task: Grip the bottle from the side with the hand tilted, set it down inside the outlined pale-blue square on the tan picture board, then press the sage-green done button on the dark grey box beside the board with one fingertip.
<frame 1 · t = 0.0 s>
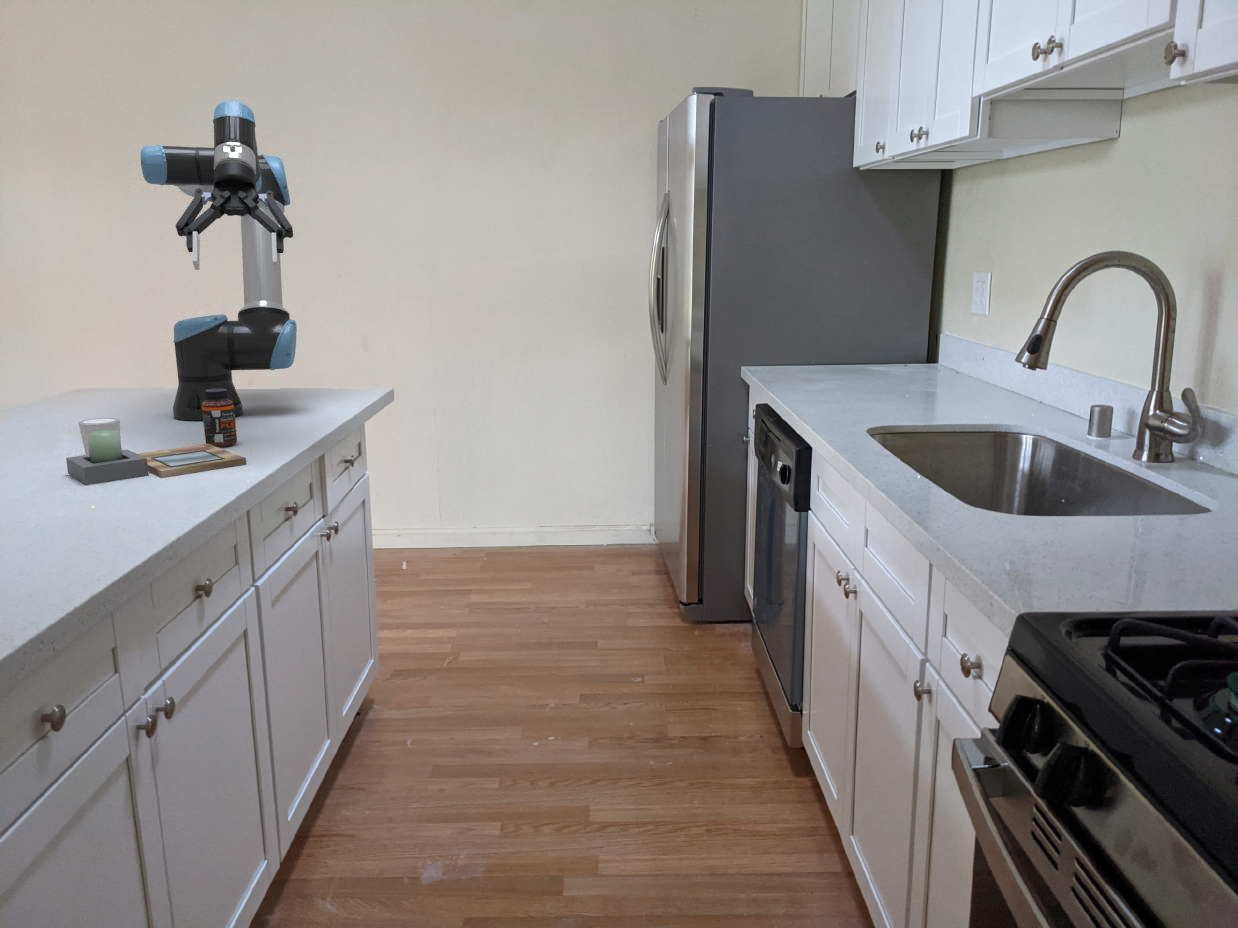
hand: (236, 266, 170), 36 cm above the countertop, tool tilted 35°, fingers open, 13 cm apart
board: (187, 462, 172), on the countertop
supplement bottle: (222, 445, 187), on the countertop
done button: (105, 447, 161), point 5 cm above the countertop, slide at 0.0 cm
button housing: (108, 474, 163), on the countertop
shot glass: (103, 457, 176), on the countertop
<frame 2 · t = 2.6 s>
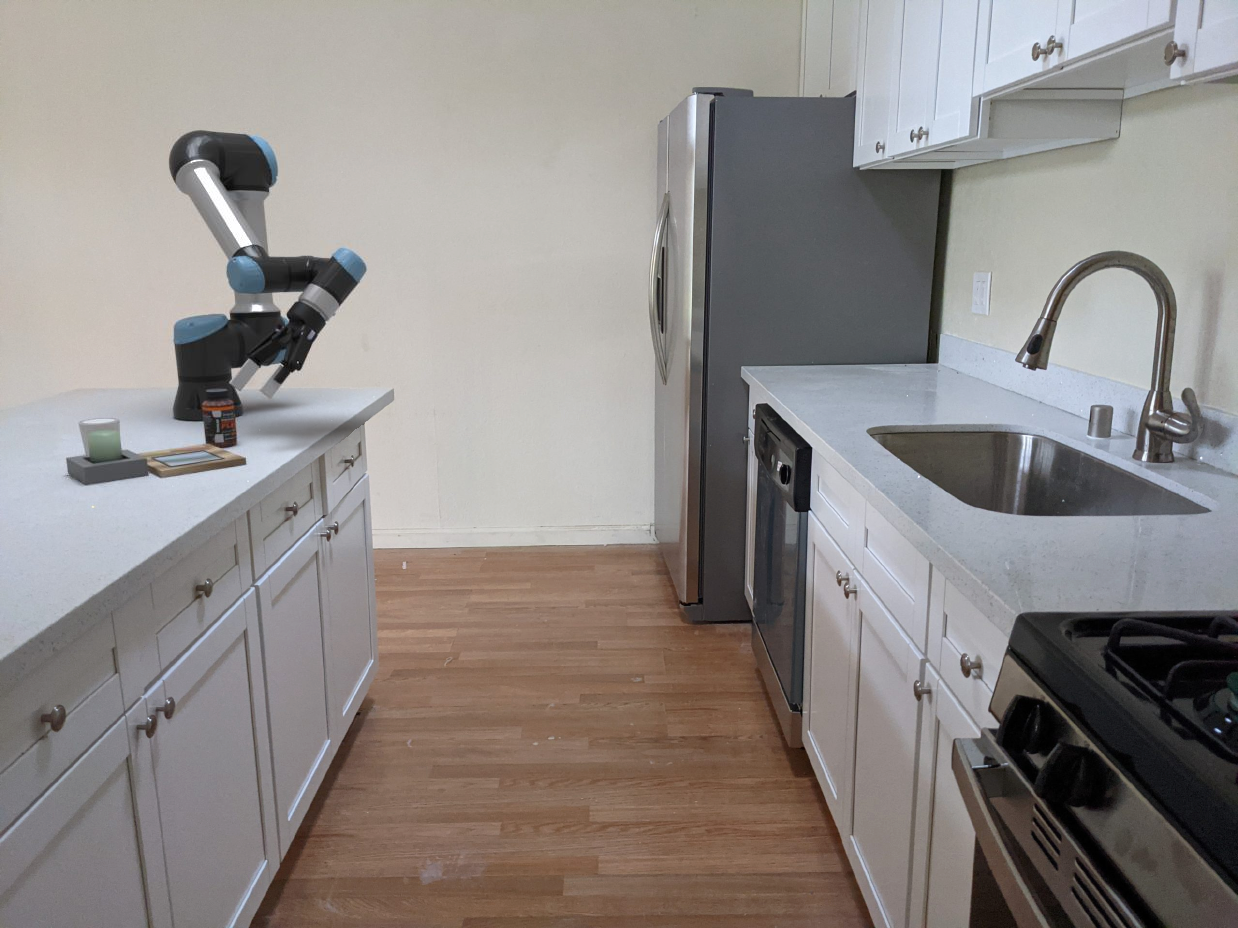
hand: (249, 390, 187), 11 cm above the countertop, tool tilted 45°, fingers open, 13 cm apart
nothing on the countertop moved.
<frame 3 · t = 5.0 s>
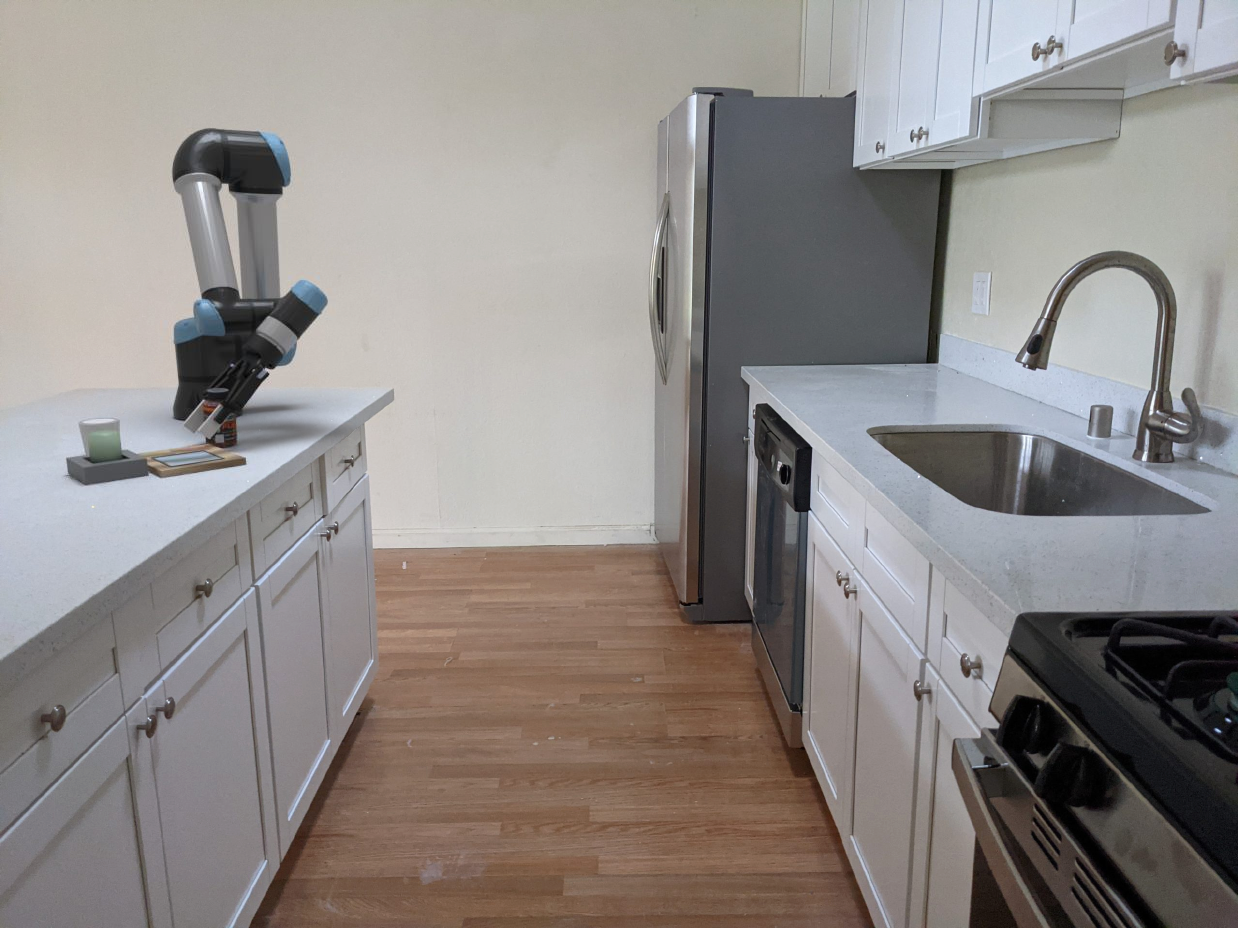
hand: (195, 431, 182), 4 cm above the countertop, tool tilted 45°, fingers open, 7 cm apart
supplement bottle: (222, 445, 187), on the countertop, touching gripper
everything else where it was.
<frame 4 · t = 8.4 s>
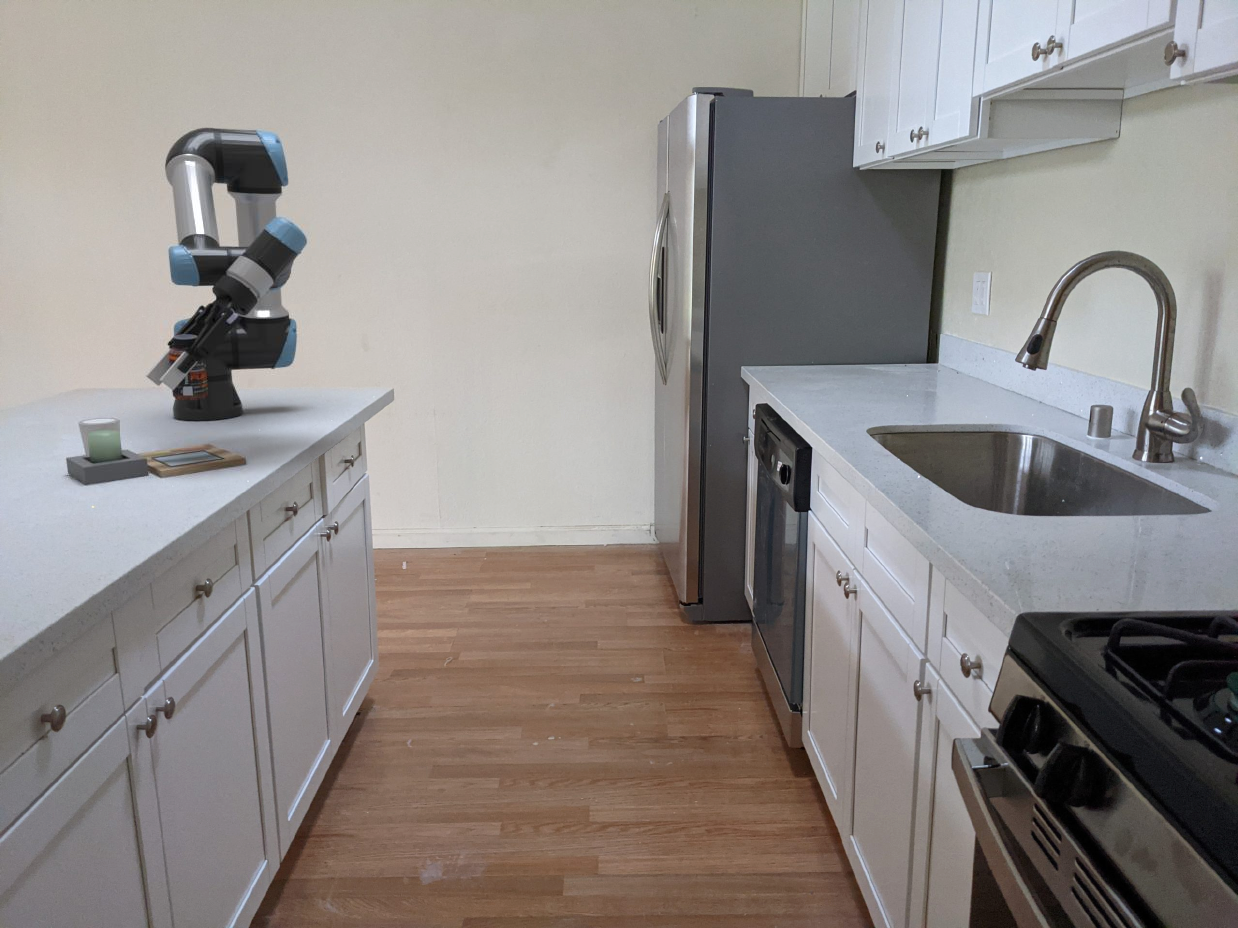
hand: (159, 382, 164), 16 cm above the countertop, tool tilted 45°, fingers closed on supplement bottle, 6 cm apart
supplement bottle: (191, 398, 169), point 12 cm above the countertop, touching gripper
everything else where it was.
when the fingers open (6 cm above the countertop, at t = 10.8 s): supplement bottle drops 1 cm, resting on board.
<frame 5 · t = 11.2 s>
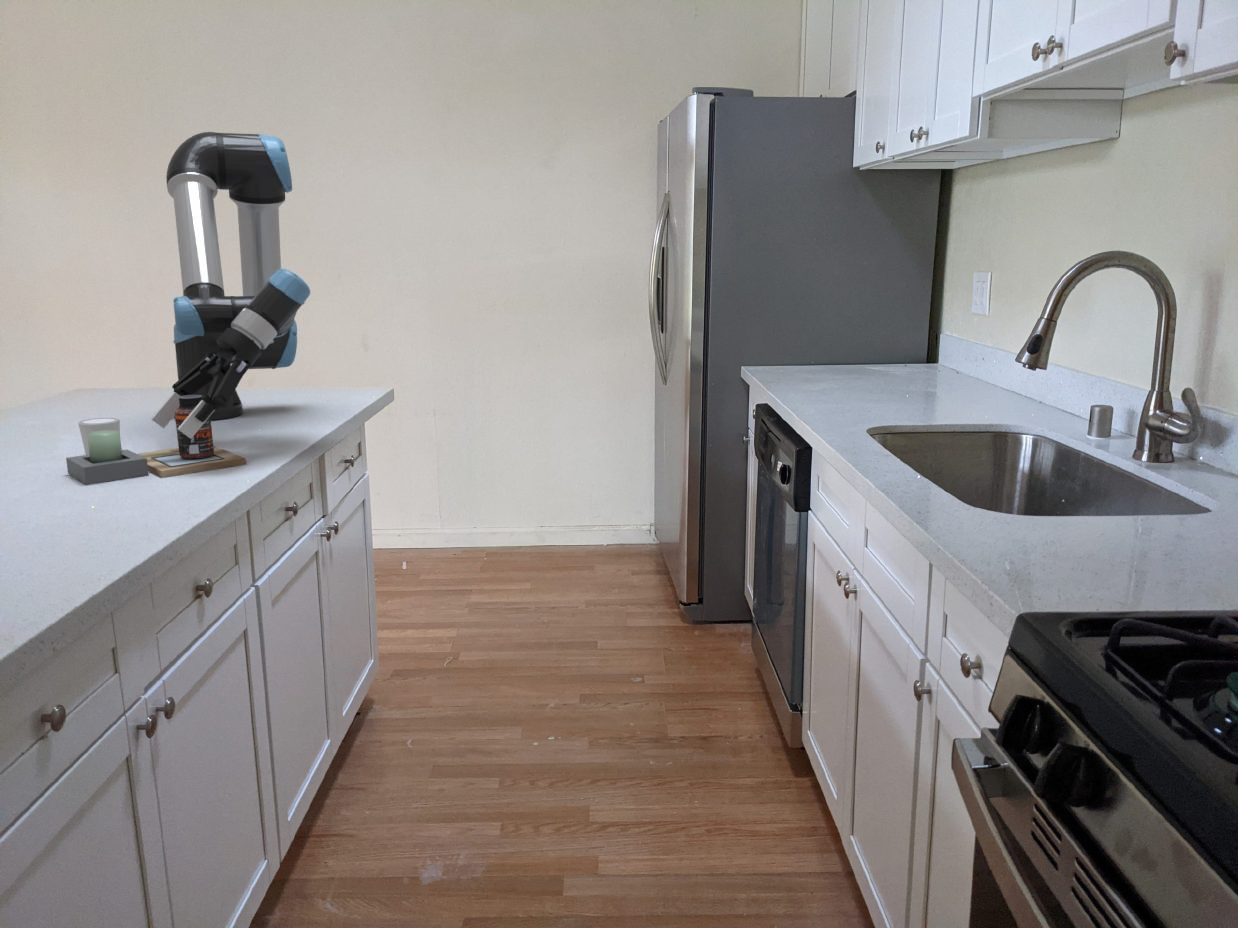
hand: (170, 428, 167), 7 cm above the countertop, tool tilted 45°, fingers open, 12 cm apart
supplement bottle: (197, 457, 172), point 1 cm above the countertop, touching board
everything else where it was.
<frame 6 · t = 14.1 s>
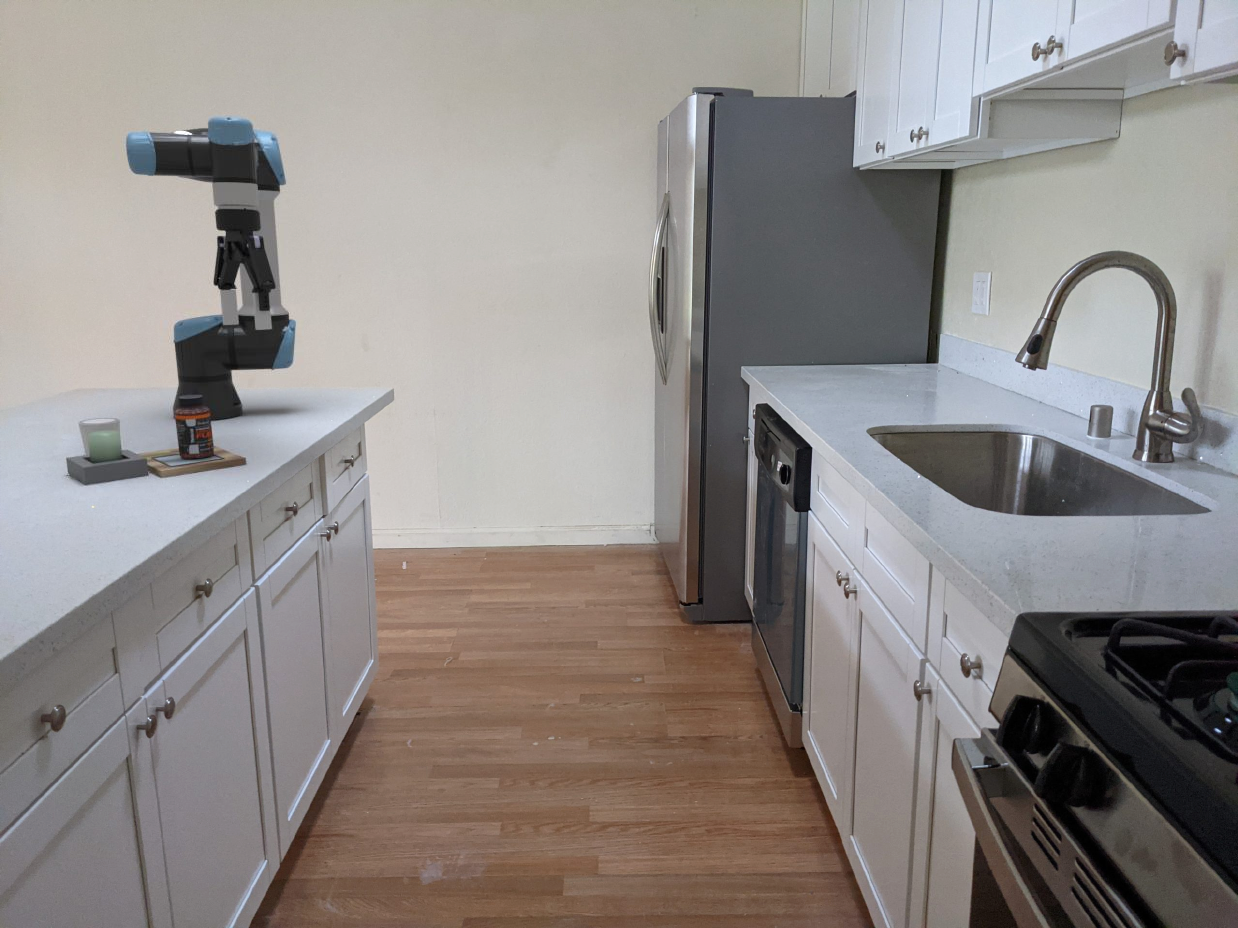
hand: (246, 327, 171), 25 cm above the countertop, tool pointing down, fingers open, 13 cm apart
nothing on the countertop moved.
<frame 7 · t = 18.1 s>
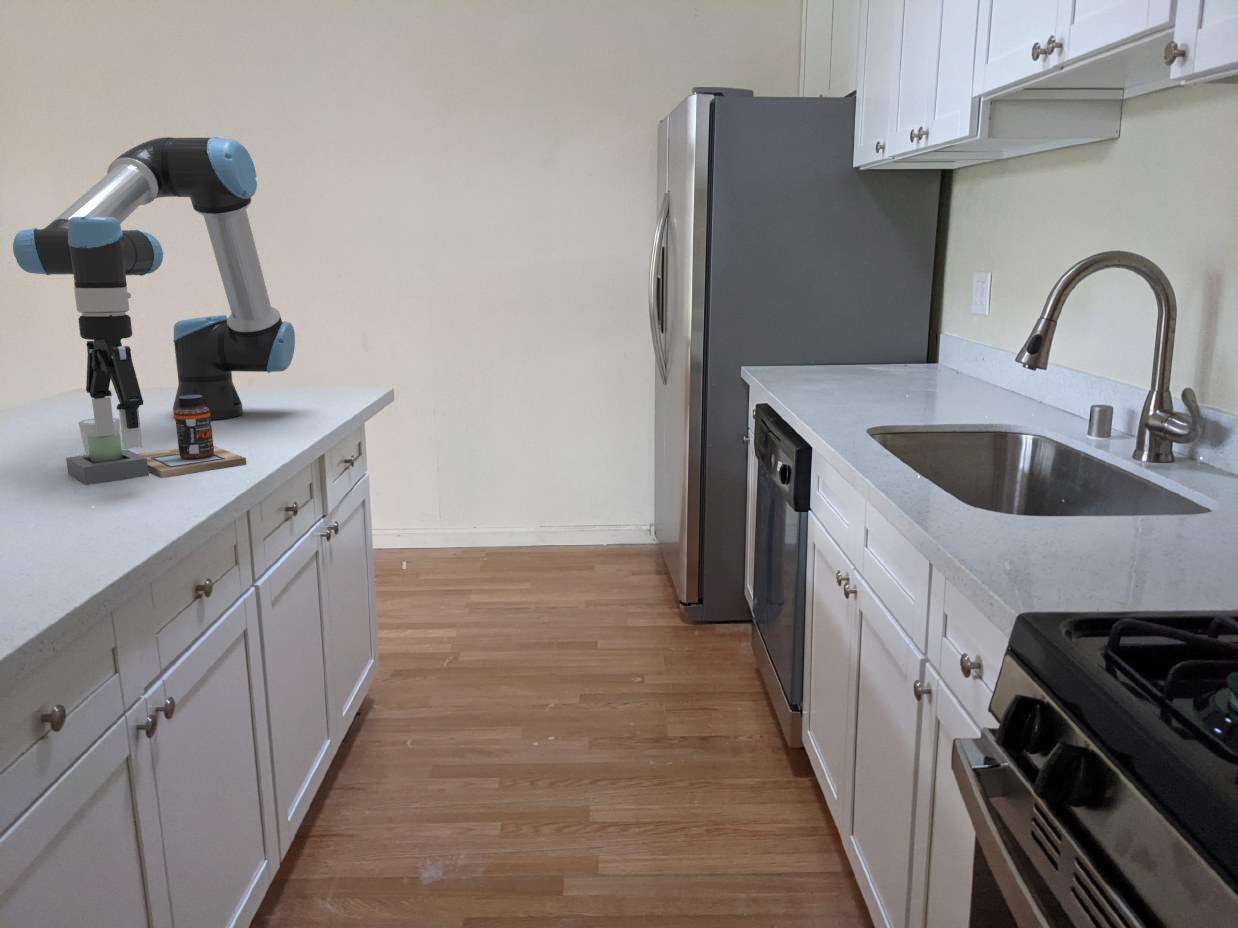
hand: (118, 441, 155), 7 cm above the countertop, tool pointing down, fingers open, 13 cm apart
done button: (105, 449, 162), point 5 cm above the countertop, slide at 0.5 cm, touching gripper
everything else where it was.
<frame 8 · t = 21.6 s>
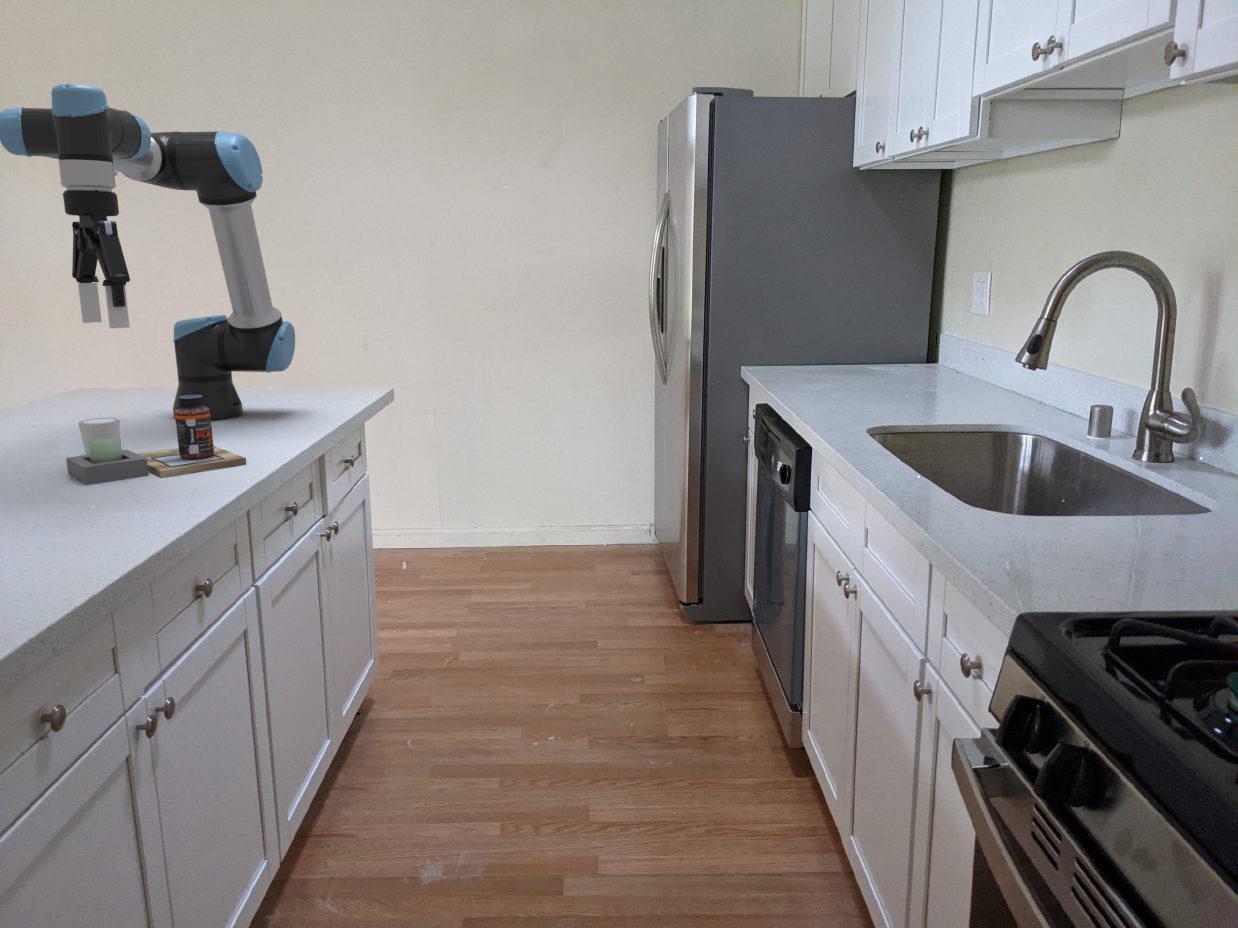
hand: (105, 325, 151), 27 cm above the countertop, tool pointing down, fingers open, 13 cm apart
done button: (106, 454, 162), point 4 cm above the countertop, slide at 1.4 cm
everything else where it was.
at the end: supplement bottle 2.1 cm from the target spot on the board, point 1.1 cm above the board's base; supplement bottle tilted 1°; done button slide at 1.4 cm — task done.
